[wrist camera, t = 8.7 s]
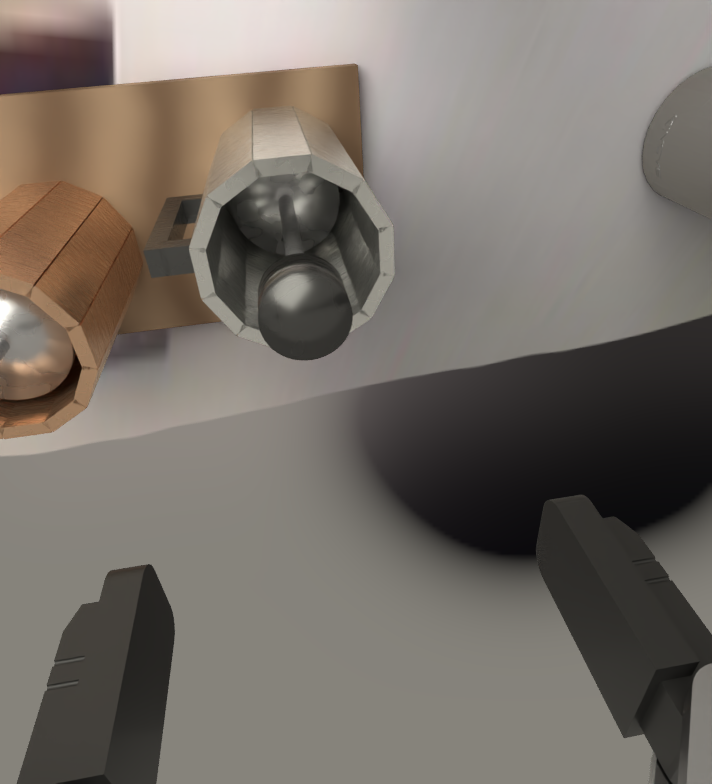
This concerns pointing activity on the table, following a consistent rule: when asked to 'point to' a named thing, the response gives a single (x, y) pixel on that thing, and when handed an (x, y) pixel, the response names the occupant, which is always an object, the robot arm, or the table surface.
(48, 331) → the black knob plunger
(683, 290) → the table surface
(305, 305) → the steel plunger
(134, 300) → the board
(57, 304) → the copper carafe
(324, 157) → the steel carafe
